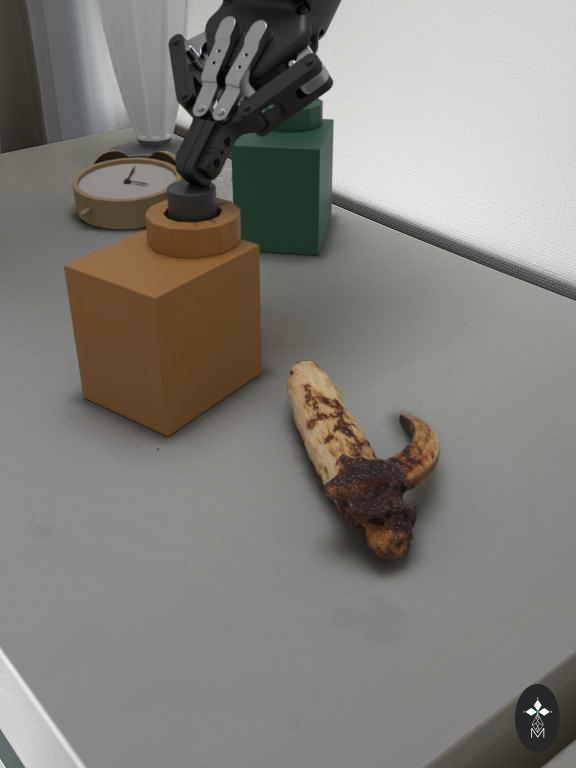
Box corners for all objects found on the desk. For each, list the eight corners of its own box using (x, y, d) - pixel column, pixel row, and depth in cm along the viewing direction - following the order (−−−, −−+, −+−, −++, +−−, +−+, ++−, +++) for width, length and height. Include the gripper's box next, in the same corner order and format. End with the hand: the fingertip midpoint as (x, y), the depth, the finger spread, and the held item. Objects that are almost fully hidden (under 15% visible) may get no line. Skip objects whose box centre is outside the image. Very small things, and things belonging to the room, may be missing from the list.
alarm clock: (57, 201, 85) (93, 132, 96) (66, 244, 88) (100, 172, 100) (171, 204, 84) (193, 133, 96) (176, 247, 88) (197, 174, 99)
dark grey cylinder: (191, 206, 60) (189, 176, 58) (227, 216, 58) (225, 185, 57) (158, 220, 57) (156, 189, 56) (195, 231, 56) (193, 199, 55)
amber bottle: (189, 336, 68) (179, 187, 62) (271, 367, 64) (268, 211, 58) (83, 397, 60) (58, 235, 54) (167, 437, 56) (152, 266, 50)
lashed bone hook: (500, 557, 47) (386, 382, 62) (515, 490, 45) (393, 324, 59) (336, 584, 45) (259, 396, 60) (343, 515, 43) (260, 337, 57)
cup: (170, 136, 115) (157, -46, 103) (220, 157, 107) (212, -37, 96) (91, 152, 109) (68, -39, 97) (138, 175, 101) (119, -29, 90)
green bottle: (257, 209, 92) (254, 92, 85) (332, 213, 90) (335, 95, 84) (234, 250, 82) (229, 122, 76) (318, 255, 81) (320, 126, 75)
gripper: (198, -94, 58) (84, 131, 56) (366, -88, 52) (243, 168, 50) (250, -17, 65) (149, 188, 63) (405, -2, 58) (297, 227, 56)
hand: (191, 179), depth 56 cm, fingers closed
